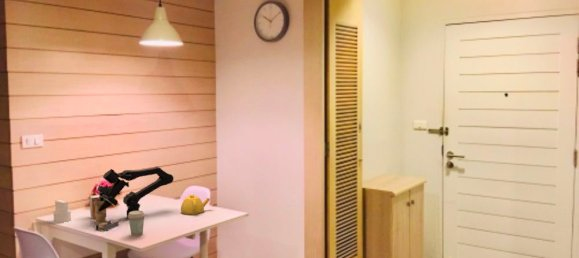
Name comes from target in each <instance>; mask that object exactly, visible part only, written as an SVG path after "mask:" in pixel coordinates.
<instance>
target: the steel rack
mask: <svg viewBox="0 0 579 258" xmlns="http://www.w3.org/2000/svg"><path fill="white" fill-rule="evenodd" d="M104 223H107V226H104V227H103V231H102V232H107V231H108V230H112V229H114V228H116V227H119V226H120V224H119V221H118V220H116V221H114V222H112V220H107V222H104ZM98 227H99V225H96V226H95V231H99V230H98Z"/></svg>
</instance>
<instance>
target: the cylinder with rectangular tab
mask: <svg viewBox="0 0 579 258" xmlns="http://www.w3.org/2000/svg"><path fill="white" fill-rule="evenodd" d="M54 207H55V210H54V211H53V223H54V222H56V223H55V224H65V223H64V222H67V223H70V222H72V215H71V214H72V211H71V209H69V202H68V201H67V200H63V199H57V200H54ZM69 221H70V222H69Z"/></svg>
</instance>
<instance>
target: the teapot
mask: <svg viewBox="0 0 579 258" xmlns="http://www.w3.org/2000/svg"><path fill="white" fill-rule="evenodd" d="M209 201H211V199H210V198H209V197H206V198H205V200H204V201H202V199H201V198H200V197H199V196H195V194H188V196H186V197H185V198H184V200H183V201H182V203H181V205H180V211H181V213H182V214H184V215H187V216H188V215H189V216H191V215H198V214H201V213H203V211H205V207H206V205H207V204H208V203H209Z"/></svg>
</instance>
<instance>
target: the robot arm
mask: <svg viewBox="0 0 579 258" xmlns="http://www.w3.org/2000/svg"><path fill="white" fill-rule="evenodd" d="M152 175H156V176H158V178H157V179H156V180H155V181H154V182H151V183H149V184H148V185H146V186H145V187H143V188H142V189H140V190H138V191H136V192H134V191H129V193H126V194H125V196H124V197H123V199H122V202H123V204H124V205H125V206H126V207H127V208H126V218H127V219H128V220H129V218H128V215H129V212H132V211H140V207H141V203H139V202H140V200H141V199H142V198H144V197H146V196H148V195H149V194H151V193H153V192H154V191H156V189H159V188H161V187H164V186H167V185H169V184H171V183H173V182H174V176H173V175H172V174H170V173H167V172H166V171H165V170H163V169H162V168H161V167H159V166H154V167H150V168H143V169H136V170H133V169H125V170H123V171H122V172H118V173H117V172H116V171H115V170H114V169H112V168H110V169H109V170H108V171H106V172H105V173H104V174H103V176H102V178H103V179H104V180H105V181H106V182H108V183H109V184H112V185H111V186H107V185H98V187H97V189H96V190H97V192H98V193H97V195H100V196H99V197H100V201H104V202H103V204H102V205H101V207H100V208H99V210H98V211H102V210H104V209H106V210H107V209H108V208H111V207H112V206H117V205H118V204H119V202H118V200H117V199H116V197H117V196H119V195H120V194H121V191H122V190H123V189H124V188H125V187H127V188H129V187H130V182H131V181H133V180H136V179H138V178H140V177H146V176H152Z"/></svg>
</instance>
